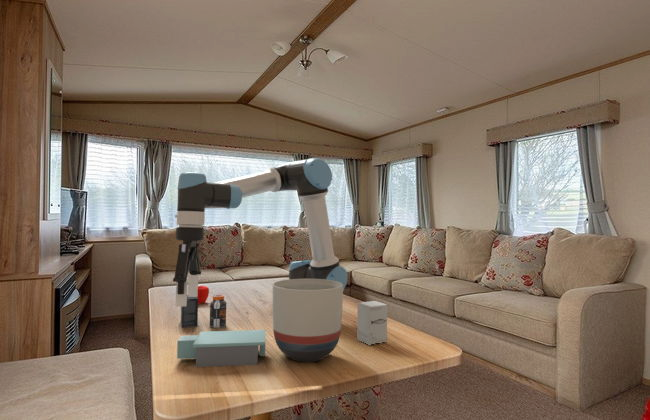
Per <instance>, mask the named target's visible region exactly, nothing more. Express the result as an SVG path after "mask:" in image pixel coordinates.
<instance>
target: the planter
mask: <svg viewBox="0 0 650 420" xmlns="http://www.w3.org/2000/svg"><path fill="white" fill-rule="evenodd" d="M343 294H344V290H343V284H342V283H340V282H337V281H332V280H325V279H289V278H288V279H283V280H278V281H274V282H273V284H272V331H273V337H274V340H275V343H276V345H277V348H278V349H279V350H280V352H281V353H283V354H284V355H285V356H286V357H288V358H290V359H291V360H293V361H297V362H301V363H302V362H304V363H305V362H307V363H310V362H316V361H320V360H323V359H324V358H326V357H327V356H329V355H330V354H331V353H332V352H333V351H334V350H335V349H336V347H337V345H338V343H339V341H340V338H341V333H342V327H343V326H342V325H343V324H342V323H343V301H344V300H343V296H344V295H343Z"/></svg>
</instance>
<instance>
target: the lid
mask: <svg viewBox="0 0 650 420" xmlns="http://www.w3.org/2000/svg"><path fill="white" fill-rule="evenodd" d="M266 331H267V330H266V329H251V330H250V329H249V330H244V329H243V330H217V331H216V330H214V331H211V330H210V331H200V332H199V334H198V335H197V334H196V335H193V334H192V335H181V336H180V337H179V339H178V340H177V349H176V353H177V354H176V355H177V356H176V358H177V360H178V359H182V360H183V359H196V347H223V346H253V345H259V356H266Z"/></svg>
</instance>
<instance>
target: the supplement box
mask: <svg viewBox="0 0 650 420" xmlns="http://www.w3.org/2000/svg"><path fill="white" fill-rule="evenodd" d="M356 320H357V321H356V322H357V323H356V325H357V326H356V330H357V332H356V337H357V338H356V340H357V339H358V341H359V340H360V341H359V342H361V341H362V343H363V342H364V343H363V344H365V343H366V344H365V345H367V344H368V345H367V346H369V345H370V346H372V345H371V344H374V345H376V344H375V343H380V344H382V343H381V342H386V341H387V340H388V304H386V303H383V302H379V301H376V300H372V301H371V300H370V301H360V302H357V319H356ZM387 342H388V341H387Z"/></svg>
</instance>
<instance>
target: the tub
mask: <svg viewBox="0 0 650 420" xmlns="http://www.w3.org/2000/svg"><path fill="white" fill-rule="evenodd" d="M259 352H260V345H253V346H223V347H196V358H195V368H204V367H205V368H207V367H208V368H209V367H210V368H211V367H229V366H233V367H234V366H256V365H258V360H259Z"/></svg>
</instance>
